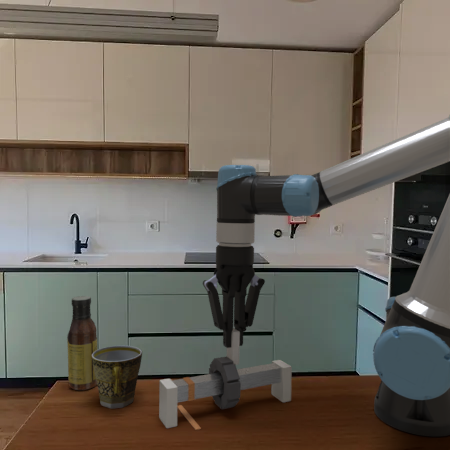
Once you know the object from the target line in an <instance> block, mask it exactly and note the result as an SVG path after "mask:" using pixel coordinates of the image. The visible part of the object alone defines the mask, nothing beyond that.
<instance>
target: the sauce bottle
mask: <svg viewBox="0 0 450 450" xmlns="http://www.w3.org/2000/svg"><path fill="white" fill-rule="evenodd" d="M91 305H92V297H91V296H89V295H81V296H79V295H78V296H73V297H72V298H71V306H72V316H71V317H72V319H71V324H70V328H69V330H68V333H67V335H66V336H67V337H66V338H67V339H66V340H67V370H68V371H67V373H68V374H67V377H68V382H69V383H68V384H69V387H70V388H71V389H72V390H75V391H85V390H91V389H92V388H95V387H96V386H98V385H97V380H96V376H95V372H94V367H93V361H92V354H93V353H94V352H95V351H96V350H98V337H97V326H96V323H95V322H94V320H93V319H92V314H91Z"/></svg>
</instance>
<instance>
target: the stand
mask: <svg viewBox="0 0 450 450" xmlns="http://www.w3.org/2000/svg"><path fill="white" fill-rule="evenodd" d="M271 363H274V364H276V365H278V366H279V367H281V368H282V377H281V382H280V383H275V384H271V390H270V391H271V392H270V393H271V395H272V396H273V397H275V398H276V399H278V401H280V402H282V403H286V402H287V403H288V402H291V401H292V376H293V375H292V374H293V373H292V372H293V371H292V370H293V369H292V368H293V367H292V366H291V365H290V364H288V363H286V362H284V361H282V360H281V359H277V360H271ZM172 380H173V379H171V378H164V379H160V380H159V391H158V392H159V399H158V400H159V401H158V402H159V403H158V404H159V407H158V409H159V410H158V411H159V412H158V414H159V415H158V418H159V420H160V421H161V423H162V424H163V426H164V427H165V428H166V429H170V428H175V427H177V426H178V411H179V412H180V413H181V414H182V416H183V417H184V418H185V419H186V421H187V422H188V423H189V424H190V425H191V426H192V428H193V429H194V431H199V430H201V429H202V427H200V425H199V423H197V422H196V421H195V419H194V418H193V417H192V416H191V415H190V413H189V412H188V411H187V410H186V409H185V408H184V406H183V405H182V404H179V405H178V403H177V392H178V387H177V386H176V385H175V384H174V383H173V382H172Z"/></svg>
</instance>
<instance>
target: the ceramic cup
mask: <svg viewBox="0 0 450 450" xmlns="http://www.w3.org/2000/svg"><path fill="white" fill-rule="evenodd" d="M142 358H143V350H142V349H141V348H140V347H137V346H133V345H127V344H126V345H123V344H121V345H111V346H105V347H101V348H99V349H97V350H96V351H95V352H94V353H93V354H92V361H93V367H94V372H95V376H96V380H97V385H96V386H97V391H98V397H99V402H100V405H101V406H103V407H104V408H108V409H118V408H119V409H123V408H125V407H127V406H129V405H131V404H132V403H133V402H134V399H135V396H136V395H135V392H136V388H137V383H138V382H137V381H138V378H139V377H138V375H139V373H140V368H141V365H142V364H141V363H142Z"/></svg>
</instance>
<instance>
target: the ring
mask: <svg viewBox="0 0 450 450" xmlns="http://www.w3.org/2000/svg"><path fill="white" fill-rule="evenodd" d="M237 369H238V368H237V366H236V365H235V364H233V361H232V360H231V359H229V358H228V357H226V356H221V357H216V358H215V357H214V358H213V359H212V361H211V363H210V364H209V368H208V374H213V373H219V372H221V375H222V378H223V381H224V394H219V395H214V396H211V397H212V400H213V401H214V404H215V405H217V407H219V409H221V410H226V409H227V410H228V409H230V408H235V406H236V405H238V403H239V402H240V398H241V390H240V385H241V382H240V381H238V380H239V379H240V377H239V374H238V371H237Z"/></svg>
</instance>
